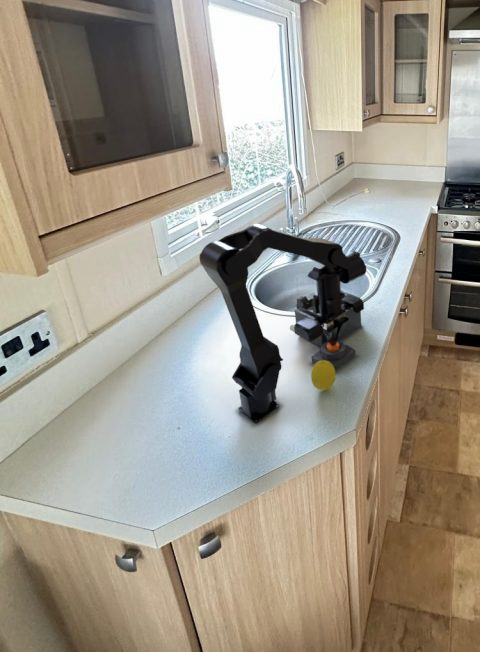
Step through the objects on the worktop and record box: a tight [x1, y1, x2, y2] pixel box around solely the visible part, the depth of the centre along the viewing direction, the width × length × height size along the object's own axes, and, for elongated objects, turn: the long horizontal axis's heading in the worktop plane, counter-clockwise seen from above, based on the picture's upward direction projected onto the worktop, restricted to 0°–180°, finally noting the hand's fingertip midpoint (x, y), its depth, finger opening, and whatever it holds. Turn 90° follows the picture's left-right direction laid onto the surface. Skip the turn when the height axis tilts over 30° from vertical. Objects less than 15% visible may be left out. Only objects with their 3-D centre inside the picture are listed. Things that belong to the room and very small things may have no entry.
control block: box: [310, 340, 357, 372], centre depth 104 cm, size 9×7×4 cm
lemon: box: [310, 360, 337, 391], centre depth 93 cm, size 6×6×8 cm
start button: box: [327, 342, 340, 352], centre depth 103 cm, size 3×3×2 cm
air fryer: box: [295, 289, 362, 342], centre depth 116 cm, size 14×12×10 cm
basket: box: [289, 307, 325, 348], centre depth 113 cm, size 16×10×8 cm, turn 141°
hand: (332, 344), depth 103 cm, fingers closed, pressing on start button
